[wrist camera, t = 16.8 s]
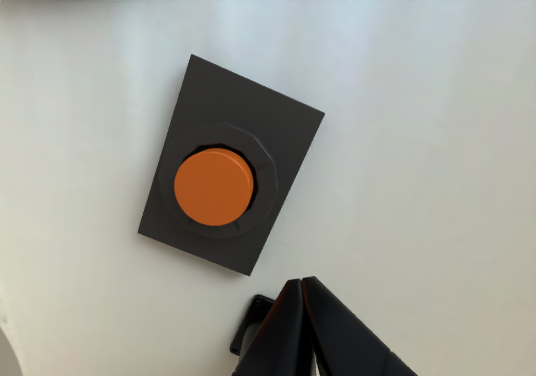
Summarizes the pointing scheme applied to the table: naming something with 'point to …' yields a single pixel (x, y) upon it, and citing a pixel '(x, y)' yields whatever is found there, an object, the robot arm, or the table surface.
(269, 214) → the push button base
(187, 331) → the table surface
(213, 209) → the orange push button
